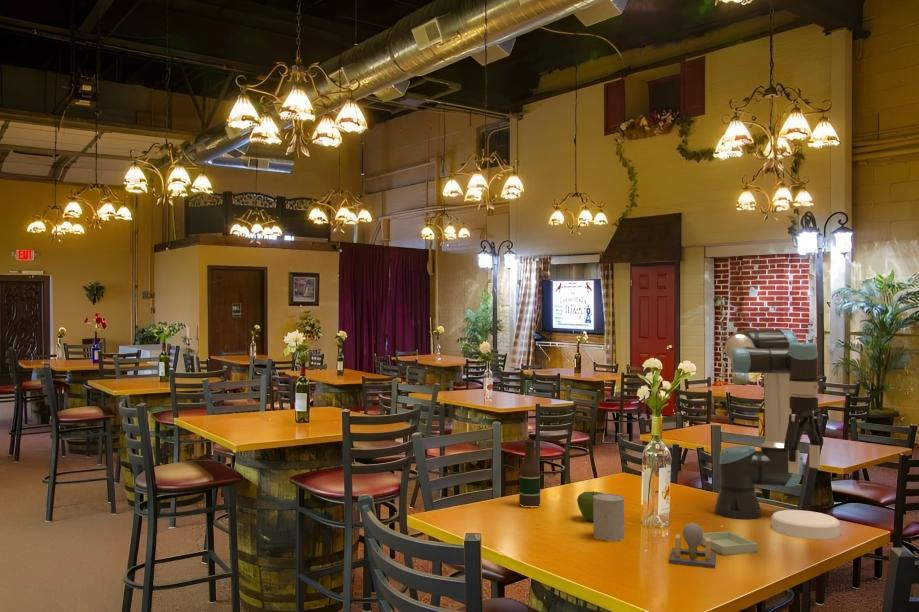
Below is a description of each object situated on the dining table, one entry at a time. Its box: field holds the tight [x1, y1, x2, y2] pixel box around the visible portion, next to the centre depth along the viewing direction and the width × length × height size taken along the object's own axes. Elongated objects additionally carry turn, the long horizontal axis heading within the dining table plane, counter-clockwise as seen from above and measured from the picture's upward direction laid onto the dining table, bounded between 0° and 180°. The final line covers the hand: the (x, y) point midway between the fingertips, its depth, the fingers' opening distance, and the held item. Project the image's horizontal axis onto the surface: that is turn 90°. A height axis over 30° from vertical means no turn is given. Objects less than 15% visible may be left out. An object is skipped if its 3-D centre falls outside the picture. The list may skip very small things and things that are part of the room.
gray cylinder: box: [592, 493, 625, 542], centre depth 227 cm, size 10×10×12 cm
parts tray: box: [699, 530, 759, 556], centre depth 217 cm, size 14×12×2 cm
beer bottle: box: [518, 438, 541, 507], centre depth 267 cm, size 8×8×24 cm
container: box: [771, 509, 841, 540], centre depth 235 cm, size 20×20×5 cm
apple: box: [576, 490, 604, 522], centre depth 247 cm, size 11×10×10 cm
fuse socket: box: [668, 533, 717, 569], centre depth 205 cm, size 12×12×6 cm
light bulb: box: [682, 522, 704, 560], centre depth 205 cm, size 5×6×10 cm
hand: (804, 470), depth 210 cm, fingers open, 13 cm apart
